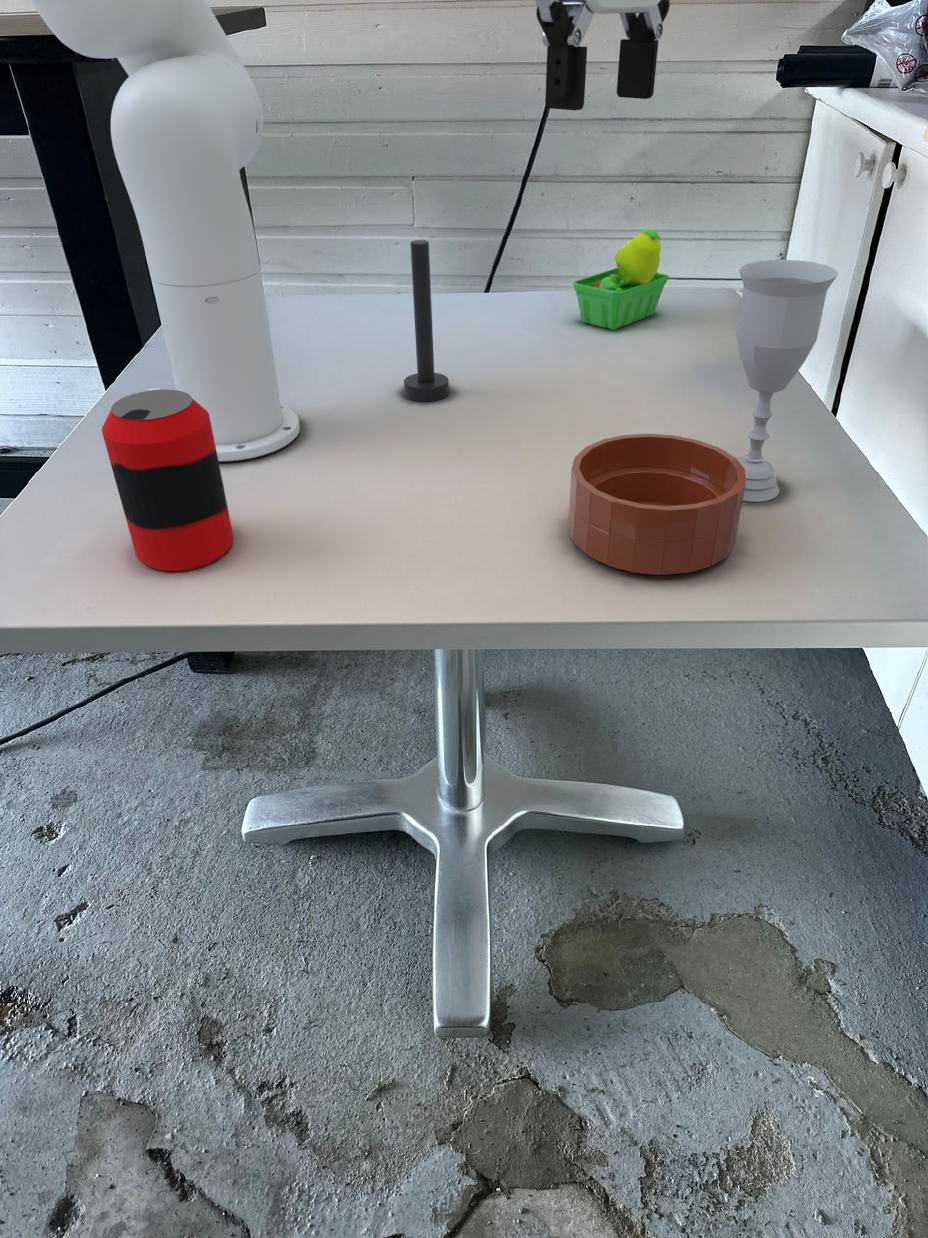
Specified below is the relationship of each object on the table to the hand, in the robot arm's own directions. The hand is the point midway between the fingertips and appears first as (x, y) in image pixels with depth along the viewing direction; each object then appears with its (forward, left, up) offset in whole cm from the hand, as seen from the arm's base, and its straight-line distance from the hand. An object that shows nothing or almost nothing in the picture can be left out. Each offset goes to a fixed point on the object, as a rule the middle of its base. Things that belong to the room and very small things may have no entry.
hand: (600, 102), depth 70 cm
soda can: (-29, -26, -28) cm, 48 cm away
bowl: (+7, -18, -28) cm, 34 cm away
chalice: (+15, -8, -28) cm, 33 cm away
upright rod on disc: (-18, +9, -28) cm, 34 cm away
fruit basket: (+1, +38, -28) cm, 47 cm away
